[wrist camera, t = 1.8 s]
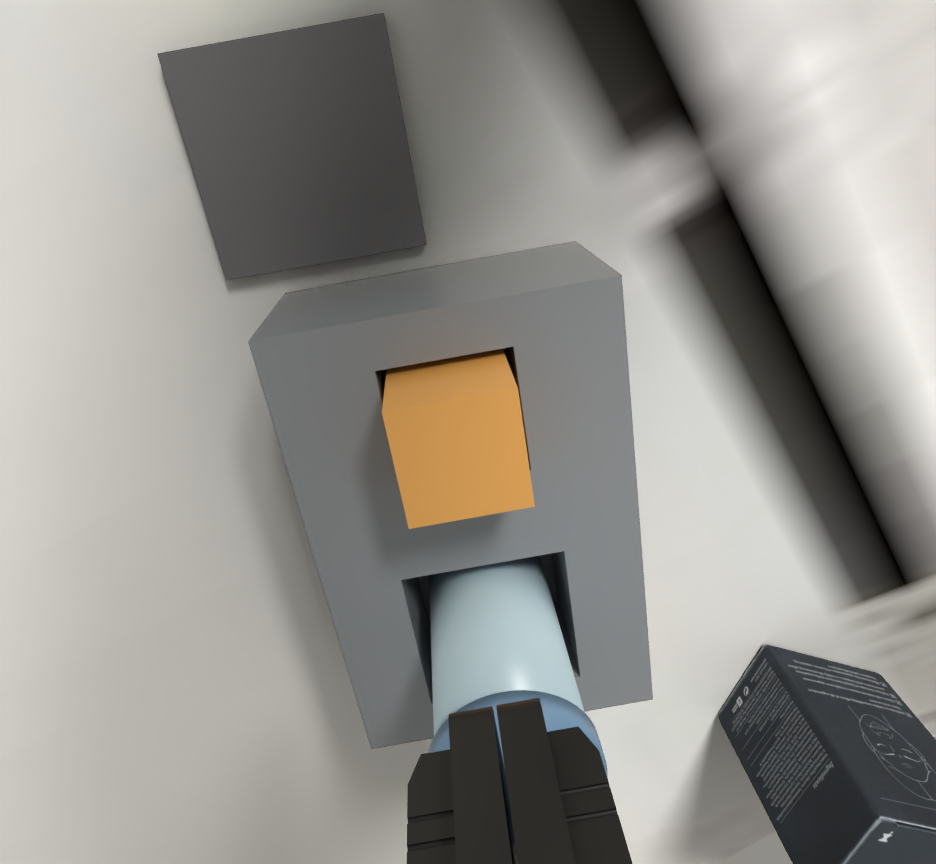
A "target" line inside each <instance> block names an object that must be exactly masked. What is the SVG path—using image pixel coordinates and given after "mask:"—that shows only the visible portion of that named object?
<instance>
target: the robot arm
mask: <svg viewBox="0 0 936 864" xmlns="http://www.w3.org/2000/svg"><path fill="white" fill-rule="evenodd" d="M496 708H497V716H498V723H499V730H500V737H501V744H502V751H501V746H500V741H499V736H498V731H497V726H496V721H495V716H494V711H493V707H492V706H490V707H484V708H479V709H473V710H467V711H462V712H456V713H450V714H449V717H448V721H449V740H450V749H449V750H443V751H437V752H432V753H426V754H421V756H420V758H419V760H418V763H417V765H416V767H415V769H414V772H413V774H412V776H411V779H410V781H409V783H408V811H407V818H408V824H407V847H408V852H407V864H632V861H631V857H630V854H629V851H628V847H627V844H626V840H625V837H624V834H623V830H622V827H621V823H620V820H619V816H618V815H617V811H616V806H615V803H614V799H613V796H612V793H611V789H610V787H609V783H608V779H607V776H606V772H605V769H604V765H603V762H602V759H601V755H600V752H599V750H598V749H597V748H596V746H595V745H594V744H593V743H592V742H591V741H590V739H589V738H588V737H587V736H586V735H585V733H584V732H583V731H582V730H581V729H580V728H579V726H577V727H572V728H566V729H560V730H555V731H549V732H547V729H546V725H545V720H544V715H543V711H542V706H541V702H540V698H534V699H528V700H522V701H517V702H511V703H506V704H500V705H496ZM502 752H503V756H502ZM503 759H504V761H503Z"/></svg>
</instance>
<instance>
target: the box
mask: <svg viewBox="0 0 936 864" xmlns="http://www.w3.org/2000/svg"><path fill="white" fill-rule="evenodd" d="M719 720H720V722H721V724H722V726H723V728H724V730H725V732H726V734H727V736H728V738H729V740H730V742H731V744H732V746H733V748H734V750H735V752H736V754H737V756H738V757H739V759H740V761H741V764H742V766H743V768H744V769H745V771H746V773H747V775H748V777H749V779H750V781H751V783H752V785H753V787H754V789H755V791H756V793H757V795H758V796H759V798H760V800H761V802H762V804H763V806H764V808H765V810H766V812H767V814H768V816H769V818H770V820H771V822H772V824H773V826H774V828H775V830H776V832H777V834H778V836H779V838H780V840H781V841H782V843H783V846H784V848H785V850H786V852H787V853H788V855H789V857H790V859H791V861H792V862H793V864H936V740H935V738H934V737H933V736H932V735H931V734H930V733H929V731H928V730H927V729H926V728H925V727H924V725H923V724H922V723H921V722H920V721H919V719H918V718H917V717H916V716H915V715H914V713H913V712H912V711H911V710H910V709H909V708H908V706H907V705H906V704H905V703H904V702H903V701H902V699H901V698H900V697H899V696H898V695H897V693H896V692H895V691H894V690H893V689H892V687H891V686H890V685H889V684H888V683H887V682H886V680H885V679H884V678H883V677H882V676H881V675H880V674H878V673H875V672H871V671H867V670H863V669H859V668H855V667H851V666H848V665H844V664H840V663H836V662H832V661H828V660H825V659H821V658H817V657H813V656H809V655H805V654H801V653H797V652H794V651H789V650H786V649H782V648H778V647H774V646H770V645H763V647H762V648H761V650H760V651H759V653H758V654H757V656H756V657H755V659H754V660H753V661H752V663H751V665H750V666H749V668H748V669H747V670H746V671H745V673H744V675H743V677H742V678H741V680H740V681H739V682H738V684H737V686H736V687H735V689H734V690H733V692H732V693H731V695H730V696H729V698H728V700H727V701H726V703H725V704H724V706H723V707H722V709H721V710H720V711H719Z"/></svg>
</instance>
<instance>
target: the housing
mask: <svg viewBox="0 0 936 864" xmlns="http://www.w3.org/2000/svg"><path fill="white" fill-rule="evenodd" d="M248 342H249V345H250V349H251V352H252V355H253V358H254V362H255V365H256V368H257V372H258V375H259V378H260V382H261V385H262V388H263V392H264V395H265V398H266V401H267V405H268V408H269V411H270V415H271V418H272V421H273V425H274V428H275V431H276V435H277V438H278V441H279V444H280V448H281V451H282V454H283V458H284V461H285V464H286V468H287V471H288V474H289V478H290V481H291V484H292V487H293V491H294V494H295V497H296V501H297V504H298V507H299V511H300V514H301V517H302V521H303V524H304V527H305V530H306V534H307V537H308V540H309V544H310V547H311V550H312V554H313V557H314V560H315V564H316V567H317V570H318V573H319V577H320V580H321V583H322V587H323V590H324V593H325V597H326V600H327V603H328V607H329V610H330V613H331V616H332V620H333V623H334V626H335V630H336V633H337V636H338V640H339V643H340V646H341V649H342V653H343V656H344V659H345V663H346V666H347V669H348V673H349V676H350V679H351V683H352V686H353V689H354V692H355V696H356V699H357V702H358V706H359V709H360V712H361V716H362V719H363V722H364V726H365V729H366V732H367V735H368V739H369V742H370V745H371V749H374V748H380V747H386V746H391V745H397V744H403V743H408V742H414V741H420V740H425V739H431V738H434V723H433V689H432V656H431V623H430V590H429V575H432V574H438V573H444V572H449V571H455V570H461V569H466V568H472V567H478V566H483V565H489V564H494V563H500V562H506V561H511V560H517V559H523V558H528V557H534V556H540V559H541V562H542V566H543V569H544V572H545V576H546V579H547V583H548V586H549V590H550V593H551V597H552V600H553V604H554V607H555V611H556V614H557V618H558V621H559V625H560V628H561V632H562V635H563V639H564V642H565V645H566V649H567V652H568V656H569V659H570V663H571V666H572V670H573V673H574V677H575V680H576V684H577V687H578V691H579V694H580V698H581V701H582V705H583V708H584V711H590V710H595V709H601V708H607V707H612V706H618V705H624V704H629V703H635V702H641V701H646V700H652V699H653V695H652V682H651V668H650V655H649V641H648V628H647V614H646V600H645V587H644V573H643V560H642V546H641V533H640V519H639V506H638V492H637V478H636V465H635V451H634V438H633V424H632V411H631V397H630V383H629V370H628V356H627V343H626V329H625V316H624V302H623V289H622V275H621V274H619V273H618V272H617V271H615V270H614V269H613V268H611V267H610V266H609V265H607V264H606V263H604V262H603V261H602V260H600V259H599V258H598V257H596V256H595V255H594V254H592V253H591V252H589V251H588V250H587V249H585V248H584V247H583V246H581V245H580V244H579V243H577V242H576V241H574V242H569V243H563V244H557V245H552V246H546V247H541V248H535V249H529V250H524V251H518V252H513V253H507V254H501V255H496V256H490V257H485V258H479V259H474V260H468V261H462V262H457V263H451V264H446V265H440V266H434V267H429V268H423V269H418V270H412V271H406V272H401V273H395V274H390V275H384V276H378V277H373V278H367V279H362V280H356V281H350V282H345V283H339V284H334V285H328V286H322V287H317V288H311V289H306V290H300V291H294V292H289V293H285V295H284V296H283V297H282V298H281V300H280V301H279V302H278V304H277V305H276V306H275V308H274V309H273V310H272V311H271V313H270V314H269V315H268V317H267V318H266V319H265V321H264V322H263V323H262V324H261V326H260V327H259V328H258V330H257V331H256V332H255V334H254V335H253V336H252V338H251V339H250V340H249V341H248ZM502 348H503V351H504V353H505V356H506V359H507V361H508V364H509V366H510V369H511V371H512V374H513V377H514V379H515V382H516V384H517V387H518V392H519V399H520V406H521V413H522V420H523V427H524V434H525V441H526V448H527V455H528V462H529V469H530V476H531V483H532V490H533V497H534V503H535V507H530V508H525V509H519V510H514V511H508V512H502V513H497V514H491V515H485V516H480V517H474V518H468V519H463V520H457V521H452V522H446V523H440V524H435V525H429V526H423V527H418V528H412V529H409V528H408V523H407V519H406V515H405V510H404V506H403V502H402V497H401V493H400V489H399V485H398V480H397V476H396V472H395V467H394V463H393V459H392V454H391V450H390V446H389V441H388V437H387V433H386V428H385V424H384V420H383V415H382V406H383V398H384V389H385V381H386V372H387V369H390V368H396V367H401V366H407V365H413V364H418V363H424V362H430V361H435V360H441V359H446V358H452V357H458V356H463V355H469V354H474V353H480V352H486V351H491V350H497V349H502Z"/></svg>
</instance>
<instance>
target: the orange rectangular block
mask: <svg viewBox="0 0 936 864" xmlns="http://www.w3.org/2000/svg"><path fill="white" fill-rule="evenodd" d="M382 415H383V420H384V424H385V428H386V433H387V437H388V441H389V446H390V450H391V454H392V459H393V463H394V467H395V472H396V476H397V480H398V485H399V489H400V493H401V497H402V502H403V506H404V510H405V515H406V519H407V523H408V528H409V529H412V528H418V527H423V526H429V525H435V524H440V523H446V522H452V521H457V520H463V519H468V518H474V517H480V516H485V515H491V514H497V513H502V512H508V511H514V510H519V509H525V508H530V507H535V503H534V497H533V490H532V483H531V476H530V469H529V462H528V455H527V448H526V441H525V434H524V427H523V420H522V413H521V406H520V399H519V392H518V387H517V384H516V382H515V379H514V377H513V374H512V371H511V369H510V366H509V364H508V361H507V359H506V356H505V353H504V351H503V348H502V349H497V350H491V351H486V352H480V353H474V354H469V355H463V356H458V357H452V358H446V359H441V360H435V361H430V362H424V363H418V364H413V365H407V366H401V367H396V368H390V369H387V372H386V381H385V389H384V398H383V406H382Z"/></svg>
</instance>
